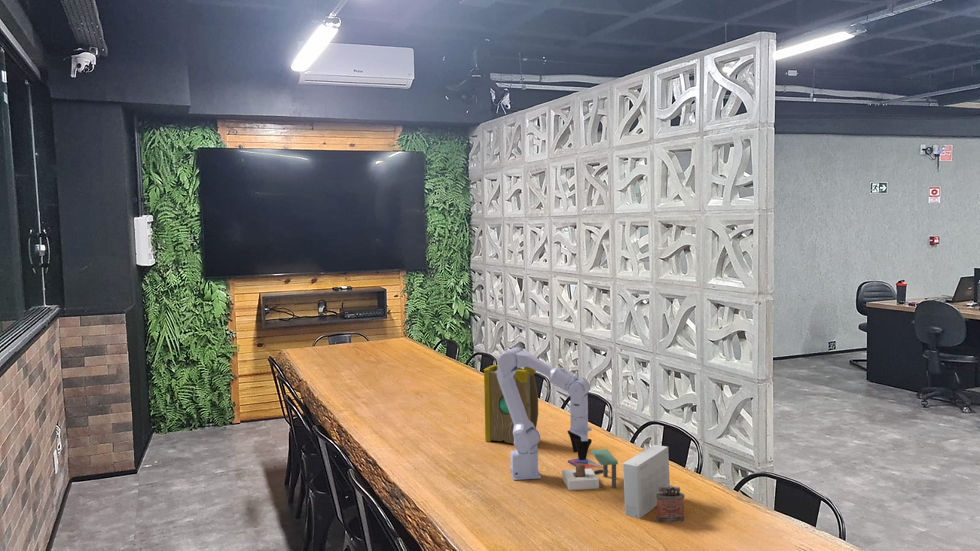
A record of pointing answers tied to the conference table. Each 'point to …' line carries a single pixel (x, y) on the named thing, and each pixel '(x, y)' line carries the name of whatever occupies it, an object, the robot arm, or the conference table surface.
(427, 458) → the conference table surface
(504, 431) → the decorative book
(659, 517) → the lighter
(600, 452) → the small green stool
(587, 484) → the socket block
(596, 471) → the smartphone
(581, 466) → the peg
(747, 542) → the conference table surface
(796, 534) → the conference table surface
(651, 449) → the skincare box
